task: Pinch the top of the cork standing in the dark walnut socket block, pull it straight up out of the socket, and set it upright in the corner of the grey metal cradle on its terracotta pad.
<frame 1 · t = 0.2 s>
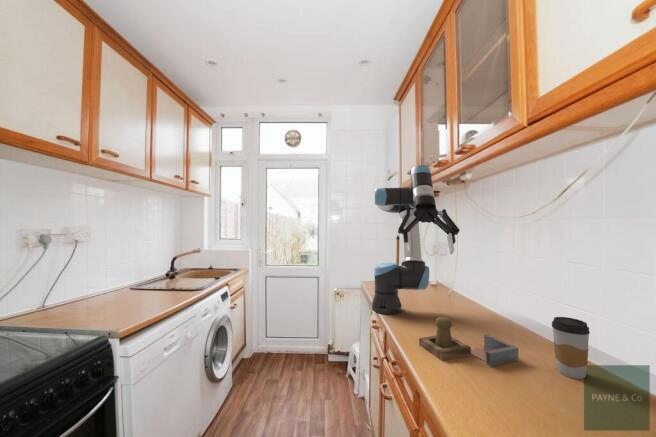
hand: (430, 251, 92), 34 cm above the countertop, tool tilted 30°, fingers open, 13 cm apart
coffee cup: (571, 374, 80), on the countertop
corner cradle: (488, 355, 91), on the countertop
socket block: (444, 349, 95), on the countertop
cork: (444, 350, 95), resting in socket block
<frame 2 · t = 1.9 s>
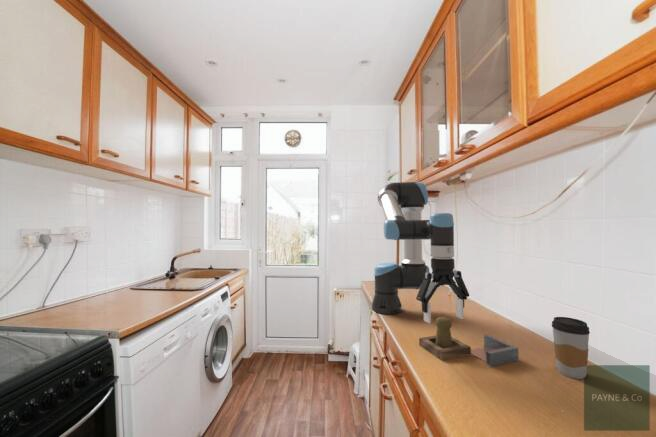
hand: (443, 319, 95), 10 cm above the countertop, tool pointing down, fingers open, 13 cm apart
nothing on the countertop moved.
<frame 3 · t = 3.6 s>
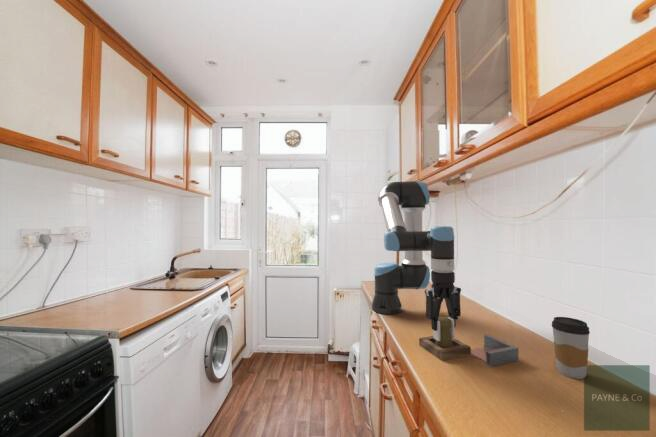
hand: (443, 338, 95), 4 cm above the countertop, tool pointing down, fingers closed on cork, 5 cm apart
cork: (444, 350, 95), resting in socket block, touching gripper
everything else where it was.
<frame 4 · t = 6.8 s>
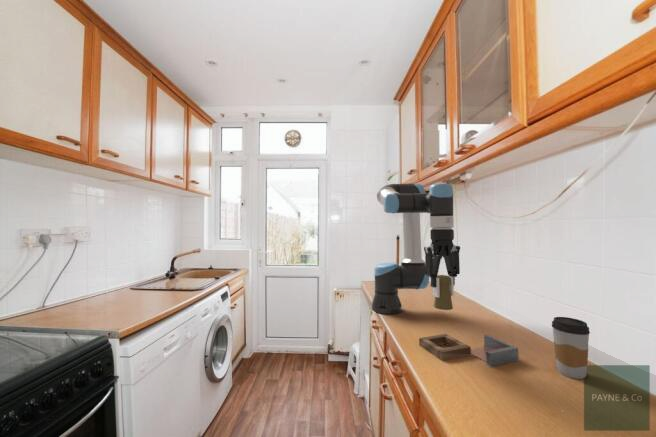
hand: (443, 295, 95), 19 cm above the countertop, tool pointing down, fingers closed on cork, 5 cm apart
cork: (443, 307, 95), point 14 cm above the countertop, touching gripper
everything else where it was.
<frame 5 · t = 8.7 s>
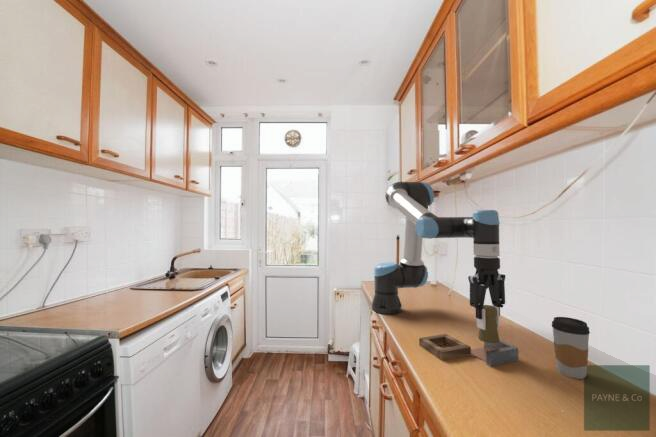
hand: (488, 327, 91), 9 cm above the countertop, tool pointing down, fingers closed on cork, 5 cm apart
cork: (488, 339, 91), point 5 cm above the countertop, touching gripper
everything else where it was.
when the fingers open (6 cm above the countertop, at t = 10.2 s): cork drops 1 cm, resting on corner cradle.
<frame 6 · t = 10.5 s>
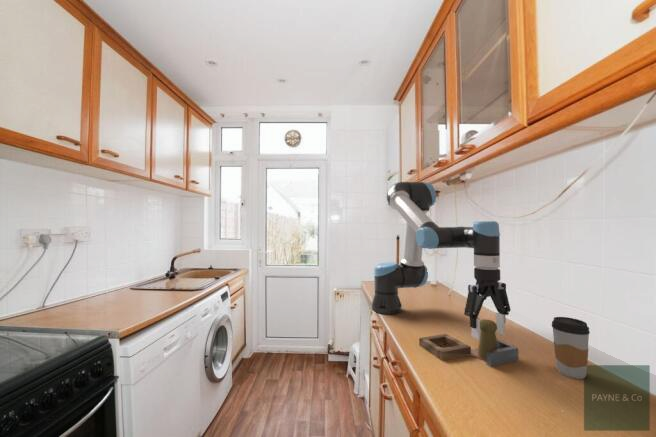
hand: (488, 335, 91), 6 cm above the countertop, tool pointing down, fingers open, 10 cm apart
cork: (488, 354, 91), resting on corner cradle
everything else where it was.
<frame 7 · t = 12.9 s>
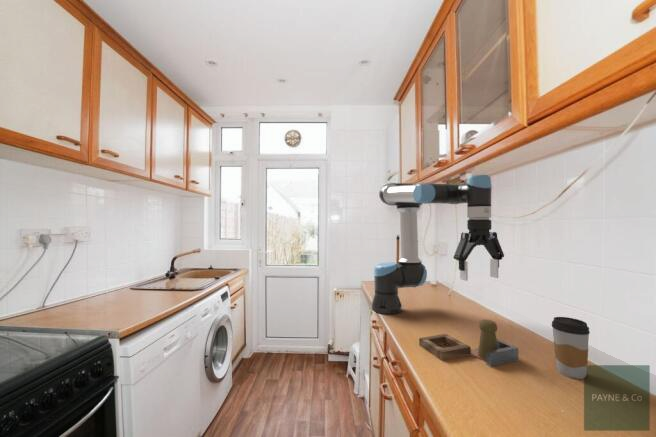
hand: (479, 278, 98), 24 cm above the countertop, tool pointing down, fingers open, 13 cm apart
nothing on the countertop moved.
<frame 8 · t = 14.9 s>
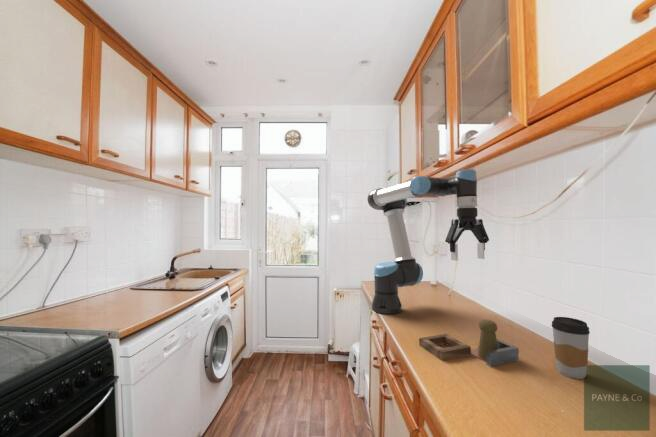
hand: (467, 259, 113), 29 cm above the countertop, tool pointing down, fingers open, 13 cm apart
nothing on the countertop moved.
at the end: cork 0.0 cm from the corner cradle (horizontally); cork tilted 0°; the gripper is holding nothing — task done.
